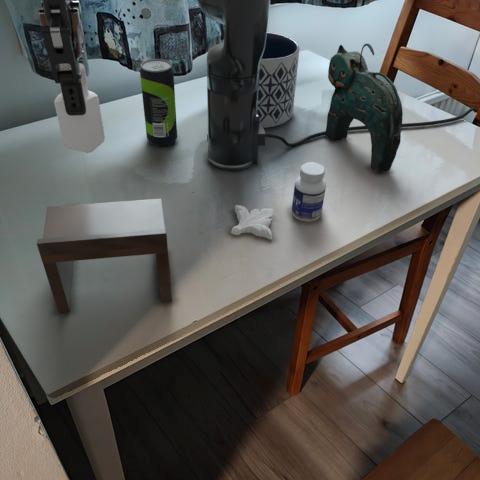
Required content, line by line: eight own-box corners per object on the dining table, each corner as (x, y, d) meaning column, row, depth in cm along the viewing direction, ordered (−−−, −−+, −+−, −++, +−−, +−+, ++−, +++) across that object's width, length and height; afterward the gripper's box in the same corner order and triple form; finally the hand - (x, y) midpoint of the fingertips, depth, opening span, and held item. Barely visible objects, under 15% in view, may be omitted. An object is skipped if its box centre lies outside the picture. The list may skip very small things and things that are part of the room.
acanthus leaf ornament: (234, 211, 92) (234, 201, 90) (273, 214, 91) (274, 204, 90) (230, 236, 86) (230, 227, 85) (272, 240, 86) (273, 230, 85)
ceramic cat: (316, 133, 112) (330, 31, 98) (340, 127, 114) (358, 27, 100) (374, 178, 100) (401, 70, 86) (400, 170, 103) (430, 64, 88)
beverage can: (183, 139, 108) (180, 64, 97) (162, 151, 105) (155, 74, 94) (162, 130, 111) (156, 55, 100) (140, 140, 108) (132, 64, 97)
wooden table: (166, 253, 83) (160, 186, 74) (172, 301, 76) (166, 233, 67) (62, 262, 81) (43, 194, 72) (58, 312, 73) (36, 243, 65)
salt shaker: (107, 141, 67) (94, 63, 60) (91, 155, 64) (75, 76, 57) (79, 135, 68) (64, 57, 61) (62, 149, 65) (44, 70, 58)
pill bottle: (289, 205, 93) (294, 160, 87) (318, 204, 94) (325, 159, 87) (293, 223, 90) (299, 177, 83) (323, 222, 90) (332, 176, 84)
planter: (207, 113, 117) (206, 44, 106) (253, 91, 125) (256, 26, 115) (262, 137, 110) (266, 66, 100) (306, 113, 118) (315, 45, 108)
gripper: (81, -56, 45) (110, 130, 58) (87, -88, 55) (110, 78, 67) (-10, -57, 44) (39, 133, 57) (12, -89, 54) (50, 79, 66)
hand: (77, 102), depth 62 cm, fingers closed on salt shaker, 5 cm apart
